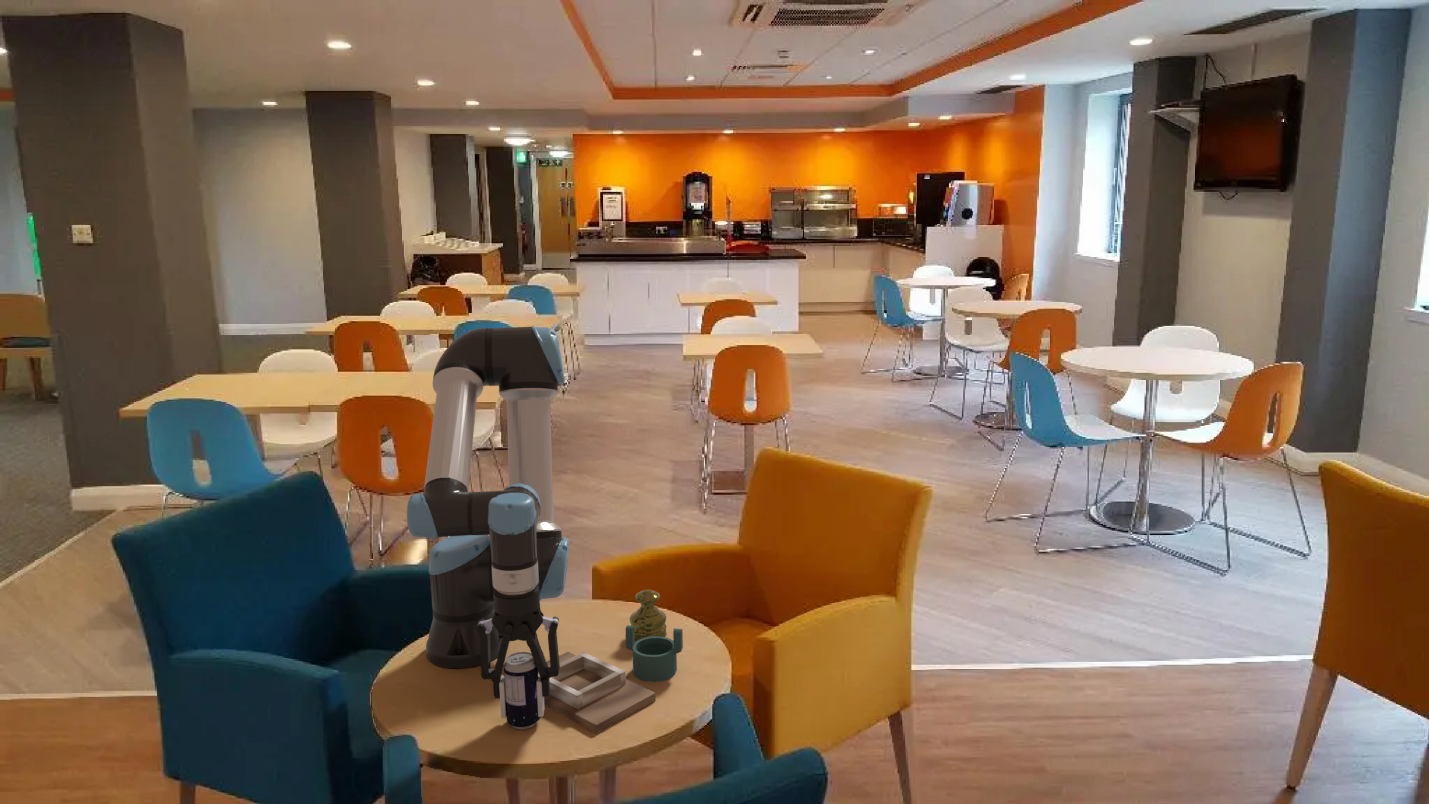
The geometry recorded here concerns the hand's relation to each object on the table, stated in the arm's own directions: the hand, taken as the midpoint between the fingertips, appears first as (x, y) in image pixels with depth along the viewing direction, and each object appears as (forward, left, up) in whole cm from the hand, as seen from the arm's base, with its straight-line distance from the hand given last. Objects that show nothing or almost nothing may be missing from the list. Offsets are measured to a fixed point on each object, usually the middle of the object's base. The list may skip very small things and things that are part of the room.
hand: (523, 713), depth 166 cm
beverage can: (0, 0, -2) cm, 2 cm away
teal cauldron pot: (+4, +28, -2) cm, 28 cm away
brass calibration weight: (-7, +37, -2) cm, 38 cm away
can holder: (0, +13, -2) cm, 13 cm away
